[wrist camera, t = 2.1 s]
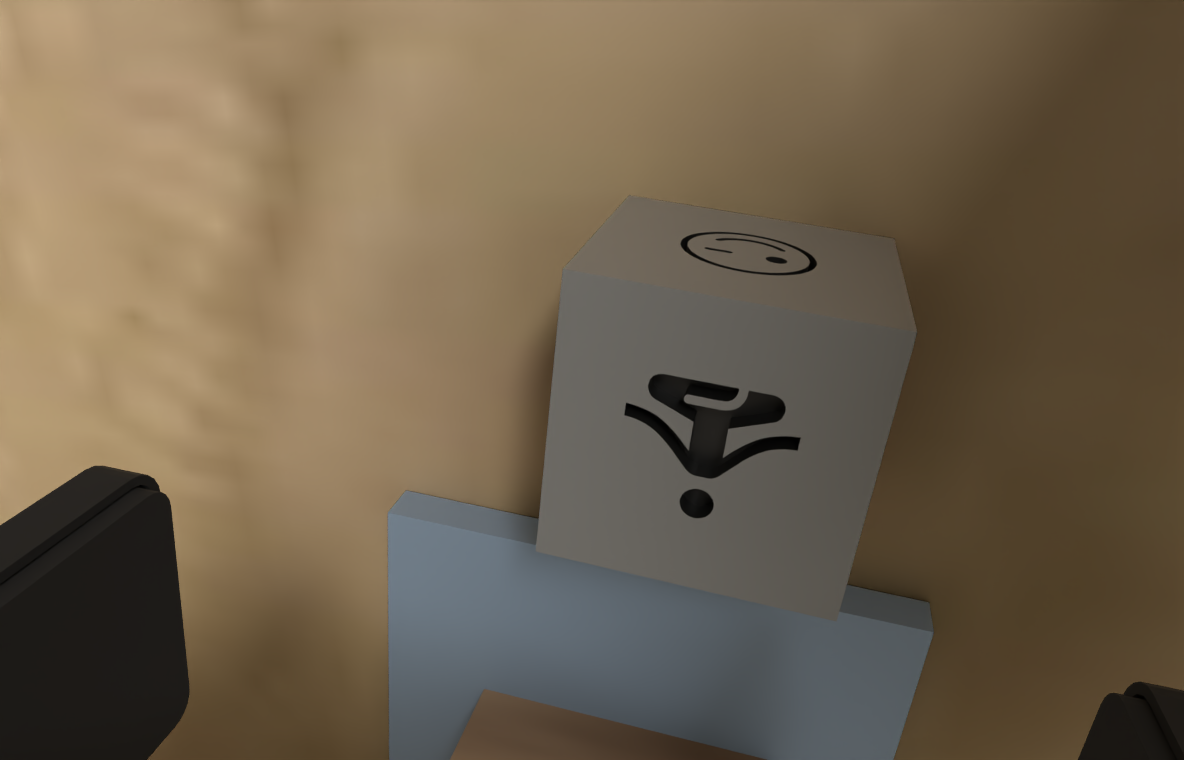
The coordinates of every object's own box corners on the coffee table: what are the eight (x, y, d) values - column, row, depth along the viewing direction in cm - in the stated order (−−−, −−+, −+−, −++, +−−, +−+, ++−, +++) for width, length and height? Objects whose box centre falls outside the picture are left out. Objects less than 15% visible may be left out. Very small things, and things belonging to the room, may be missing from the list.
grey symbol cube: (894, 237, 17) (917, 332, 12) (834, 470, 19) (836, 621, 15) (629, 194, 18) (562, 269, 13) (601, 421, 20) (535, 551, 15)
